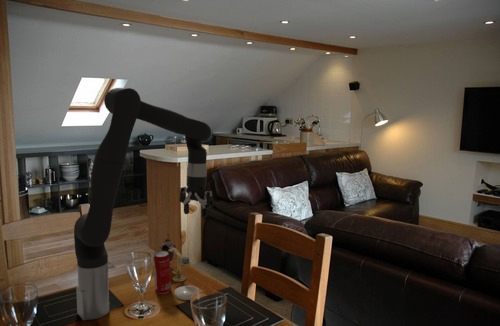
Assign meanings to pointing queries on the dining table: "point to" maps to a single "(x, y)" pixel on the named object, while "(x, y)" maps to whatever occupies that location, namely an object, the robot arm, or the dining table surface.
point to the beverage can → (162, 272)
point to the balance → (179, 265)
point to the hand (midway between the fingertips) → (195, 215)
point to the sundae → (166, 247)
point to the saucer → (185, 292)
